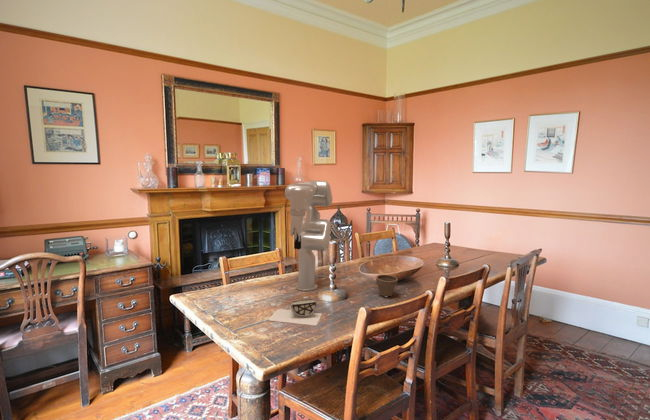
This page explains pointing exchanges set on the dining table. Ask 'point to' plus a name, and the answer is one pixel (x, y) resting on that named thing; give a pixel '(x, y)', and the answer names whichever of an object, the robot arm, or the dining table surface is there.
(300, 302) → the food container
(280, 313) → the mat
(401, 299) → the dining table surface
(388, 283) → the flower pot
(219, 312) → the dining table surface
